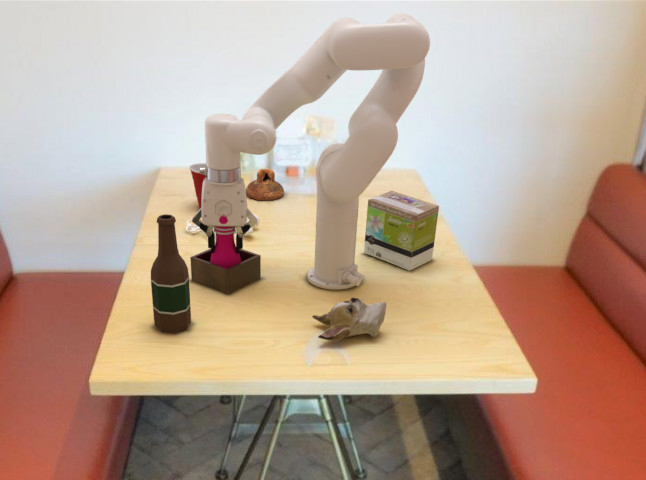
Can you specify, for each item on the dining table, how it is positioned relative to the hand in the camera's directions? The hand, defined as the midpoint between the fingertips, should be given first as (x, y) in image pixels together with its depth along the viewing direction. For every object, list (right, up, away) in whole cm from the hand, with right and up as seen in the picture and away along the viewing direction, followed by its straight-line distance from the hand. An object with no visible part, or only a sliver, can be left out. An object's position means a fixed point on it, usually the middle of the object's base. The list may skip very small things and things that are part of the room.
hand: (225, 250), depth 186 cm
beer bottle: (-10, -19, -16) cm, 27 cm away
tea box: (+42, +1, +18) cm, 46 cm away
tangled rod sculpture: (-3, +10, +29) cm, 31 cm away
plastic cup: (-9, +21, +45) cm, 51 cm away
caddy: (0, -6, +4) cm, 7 cm away
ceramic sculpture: (+28, -21, -17) cm, 39 cm away
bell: (+7, +27, +56) cm, 63 cm away
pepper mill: (0, -6, +4) cm, 8 cm away
